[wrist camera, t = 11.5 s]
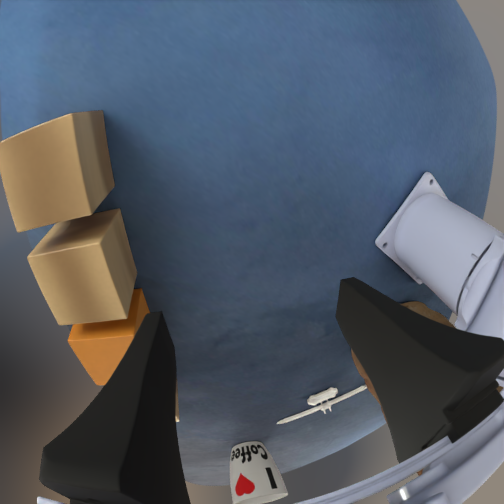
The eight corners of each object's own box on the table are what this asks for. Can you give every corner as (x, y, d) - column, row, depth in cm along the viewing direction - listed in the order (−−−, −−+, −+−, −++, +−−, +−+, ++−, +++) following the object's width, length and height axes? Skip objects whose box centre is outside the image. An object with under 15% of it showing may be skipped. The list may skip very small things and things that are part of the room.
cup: (272, 433, 36) (290, 489, 28) (271, 450, 40) (286, 498, 32) (219, 442, 35) (230, 501, 27) (225, 458, 39) (235, 507, 31)
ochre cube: (141, 287, 20) (134, 335, 16) (158, 335, 23) (156, 382, 18) (84, 295, 19) (67, 340, 15) (105, 340, 22) (96, 385, 18)
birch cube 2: (120, 207, 17) (100, 242, 13) (137, 272, 19) (127, 319, 15) (57, 221, 16) (26, 257, 12) (78, 281, 19) (59, 325, 14)
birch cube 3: (103, 109, 14) (72, 112, 9) (115, 186, 16) (92, 215, 12) (36, 131, 13) (-6, 144, 9) (51, 201, 15) (17, 233, 11)
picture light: (276, 422, 34) (280, 434, 33) (268, 410, 32) (272, 424, 30) (369, 383, 35) (375, 394, 33) (369, 368, 32) (376, 380, 31)
